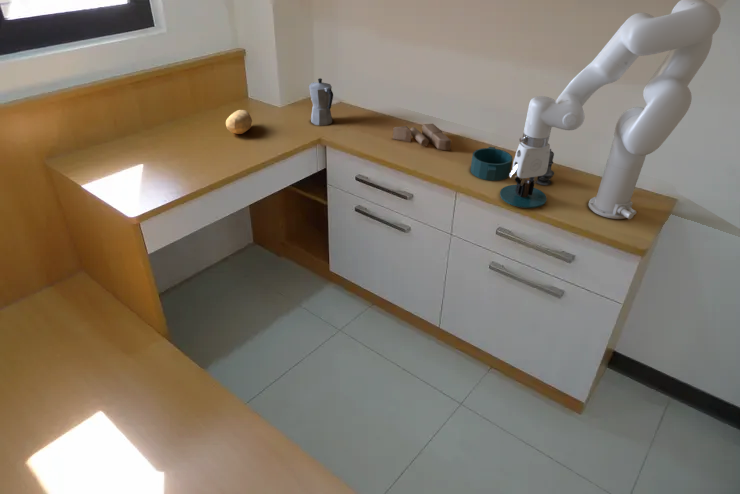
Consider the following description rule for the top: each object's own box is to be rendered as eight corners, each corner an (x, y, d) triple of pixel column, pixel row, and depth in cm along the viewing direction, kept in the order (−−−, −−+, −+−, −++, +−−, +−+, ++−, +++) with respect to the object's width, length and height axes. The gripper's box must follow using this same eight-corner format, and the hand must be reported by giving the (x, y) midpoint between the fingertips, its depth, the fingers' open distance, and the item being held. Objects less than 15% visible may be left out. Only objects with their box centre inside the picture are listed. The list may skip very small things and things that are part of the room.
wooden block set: (432, 119, 204) (452, 137, 190) (431, 133, 207) (450, 151, 193) (392, 124, 199) (410, 142, 185) (391, 137, 202) (409, 156, 188)
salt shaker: (552, 186, 171) (561, 153, 164) (534, 184, 172) (542, 151, 165) (551, 178, 175) (559, 145, 169) (533, 176, 176) (540, 144, 169)
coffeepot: (303, 119, 217) (301, 76, 207) (322, 114, 222) (321, 72, 212) (323, 130, 207) (321, 86, 197) (342, 125, 212) (342, 82, 202)
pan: (508, 162, 186) (511, 146, 182) (510, 186, 170) (513, 169, 167) (471, 158, 188) (473, 143, 184) (469, 182, 172) (472, 165, 169)
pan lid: (543, 190, 169) (547, 173, 165) (547, 212, 157) (552, 194, 153) (499, 185, 171) (502, 168, 167) (500, 207, 159) (503, 189, 155)
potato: (256, 125, 211) (254, 106, 206) (248, 139, 199) (246, 119, 195) (233, 124, 211) (230, 105, 207) (223, 138, 200) (220, 118, 195)
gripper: (518, 147, 147) (507, 203, 158) (566, 141, 152) (552, 195, 162) (504, 137, 153) (494, 192, 163) (550, 132, 158) (538, 185, 168)
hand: (523, 193), depth 163 cm, fingers closed on pan lid, 2 cm apart
